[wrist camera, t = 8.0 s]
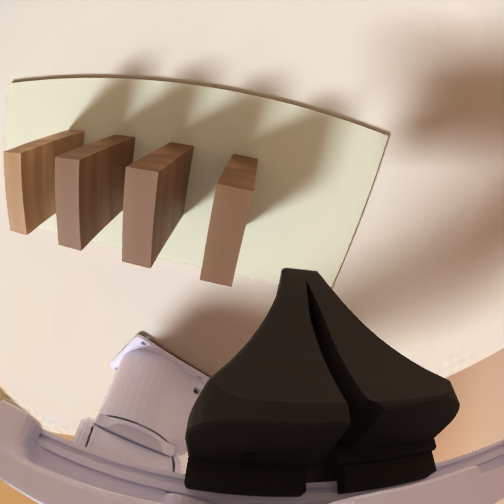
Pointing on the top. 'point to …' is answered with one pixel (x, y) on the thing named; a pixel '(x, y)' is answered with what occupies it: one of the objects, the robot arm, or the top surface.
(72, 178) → the domino
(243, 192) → the domino
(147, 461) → the robot arm
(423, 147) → the top surface
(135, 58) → the top surface
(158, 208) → the domino
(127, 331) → the top surface
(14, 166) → the domino
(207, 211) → the sage mat
